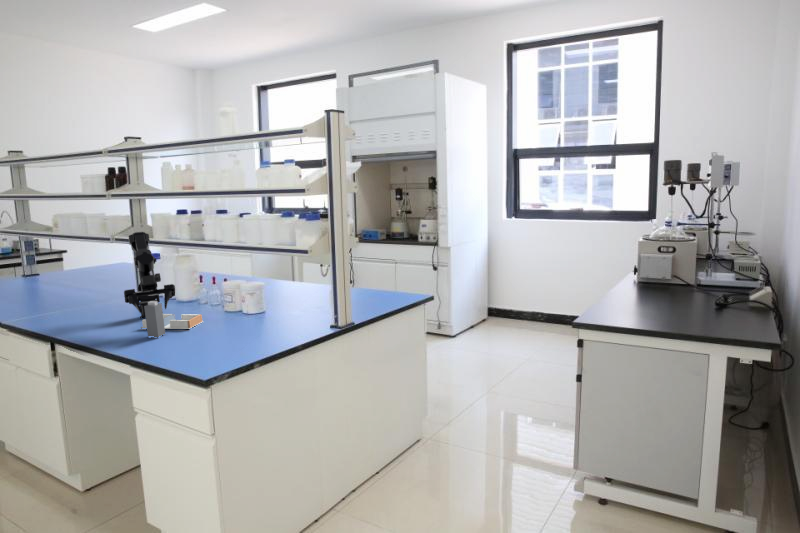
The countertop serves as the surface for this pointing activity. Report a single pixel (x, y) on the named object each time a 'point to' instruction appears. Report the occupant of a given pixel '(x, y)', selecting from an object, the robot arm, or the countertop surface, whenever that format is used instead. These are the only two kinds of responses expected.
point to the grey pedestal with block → (154, 319)
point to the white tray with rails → (179, 321)
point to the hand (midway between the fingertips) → (153, 310)
